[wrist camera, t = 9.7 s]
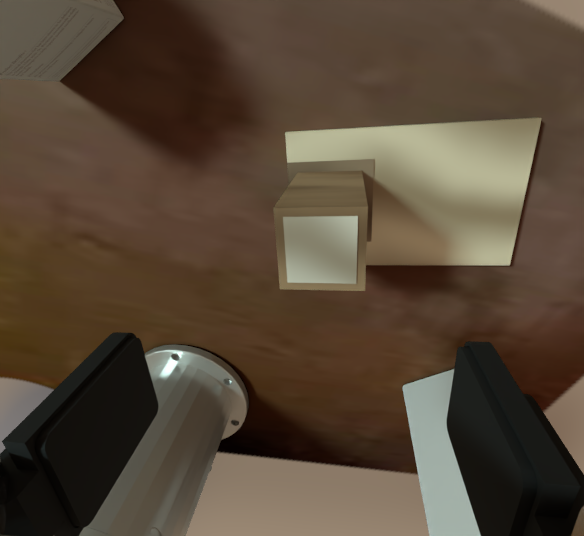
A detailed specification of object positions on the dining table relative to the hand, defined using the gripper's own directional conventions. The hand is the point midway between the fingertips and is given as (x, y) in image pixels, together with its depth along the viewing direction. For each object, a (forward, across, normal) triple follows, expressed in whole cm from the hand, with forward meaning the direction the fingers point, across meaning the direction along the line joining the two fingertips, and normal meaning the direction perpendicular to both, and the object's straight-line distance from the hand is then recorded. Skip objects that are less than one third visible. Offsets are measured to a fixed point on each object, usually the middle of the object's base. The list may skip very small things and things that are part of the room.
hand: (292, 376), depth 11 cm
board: (+18, -6, -1) cm, 19 cm away
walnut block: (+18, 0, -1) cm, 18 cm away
